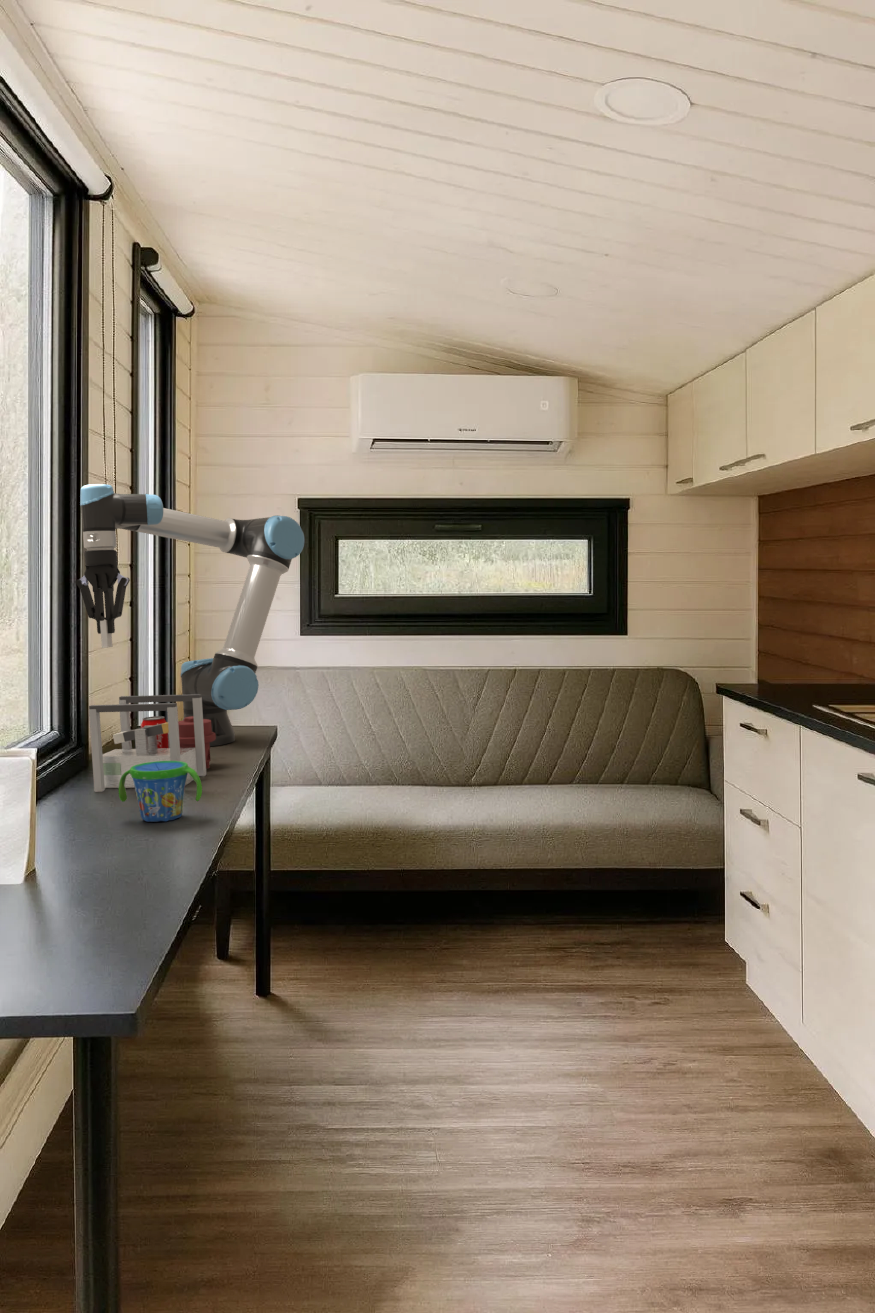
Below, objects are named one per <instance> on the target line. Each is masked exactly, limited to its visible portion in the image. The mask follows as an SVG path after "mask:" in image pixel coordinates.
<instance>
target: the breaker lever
mask: <svg viewBox="0 0 875 1313" xmlns="http://www.w3.org/2000/svg"><path fill="white" fill-rule="evenodd" d="M136 729H137V728H136ZM136 729H131V730H130V731H124V732H121V731H120V732H117V733H114V734H112V738H113V743H114V745H117V744H122V742H126V741H131V742H132V741H135V730H136ZM138 729H147V733H148V737H149V736H154V735H159V734H163V733H164V734H165V733H168V734H169V728H168V721H166V723H163V724H158V725H153V726H149V727H144V728H141V727H140V728H138Z"/></svg>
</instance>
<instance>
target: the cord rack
mask: <svg viewBox="0 0 875 1313" xmlns="http://www.w3.org/2000/svg"><path fill="white" fill-rule="evenodd" d="M183 701H193V716H194V732H195V748H196V765H197V774H198V776H199V777H205V776H206V775H207V769H206V761H205V744H204V727H203V711H202V697H201V694H190V695H182V694H163V695H162V694H157V695H155V694H154V695H121V696H119V697H118V704H92V705H91V704H90V705H89V706H88V708H89V709H88V718H89V729H90V730H89V732H90V744H91V747H90V748H91V760H92V773H93V774H92V777H93V789H94V792H95V793H102V792H104V791H105V790H106V788H105V784H104V770H103V755H102V754H103V742H102V731H101V728H102V727H101V715H100V713H119V720H120V722H119V723H120V732H124V731H130V730H132V729H131V717H130V716H131V714H130V713H131V712H132V713H133V712H160V711H161V712H162V711H163V712H167V722H168V728H169V733H168V742H169V748H170V760H171V761H181V759H180V742H179V726H178V721H179V714H178V713H179V712H178V705H177V703H178V702H181V703H183ZM176 702H177V703H176ZM132 744H133V743H132V740H131V741H126V742H122V743H121V749H133V746H132Z"/></svg>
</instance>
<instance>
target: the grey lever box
mask: <svg viewBox="0 0 875 1313" xmlns="http://www.w3.org/2000/svg"><path fill="white" fill-rule="evenodd" d="M144 727H149V726H144ZM134 730H135V729H134ZM134 742H135V748H132V749H122V748H119V749H118V748H115V749H113V750H110V751H107V752H105V753H102V755H103V770H104V784H105V789H119V782H120V779H121V777H122V775H123V774H124V773H125V772H126V771H128V770H130V768H131V767H132V766H135V765H138V764H142V763H147V762H155V761H171V760H170V747H169V748H157V735H154V736H149V737H148V733H147V729H139V728H136V730H135V740H134ZM180 759H181V762H185V763H187V764H188V767H190V768H192V769H193V770H195V771H196V773H197V767H196V751H195V748H180ZM193 781H194V779H193V778H192V777H191V775H190V774H189V773H188V774H187V778H186V782H185V786H187V785H188V784H191V782H193ZM124 786H125V789H126V788H127V789H128V788H130V789H132V788H134V789H135V786H134V782H133V778H132V777H131V774H128V775H127V776H126V780H125V784H124Z"/></svg>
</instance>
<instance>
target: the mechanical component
mask: <svg viewBox="0 0 875 1313" xmlns="http://www.w3.org/2000/svg"><path fill="white" fill-rule="evenodd" d="M183 718H184V717H183ZM178 726H179V742H180V748H195V732H194V716H190V717H185V718H184V720H183V719H182V720H178ZM203 727H204V744H205V761H206V770H207V769H210V762H211V746H210V742H212V741H214V740H215V739H216V734H215V733H214V732H212V727H211V720H208V719H203ZM195 751H196V748H195ZM196 767H197V765H196Z"/></svg>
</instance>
